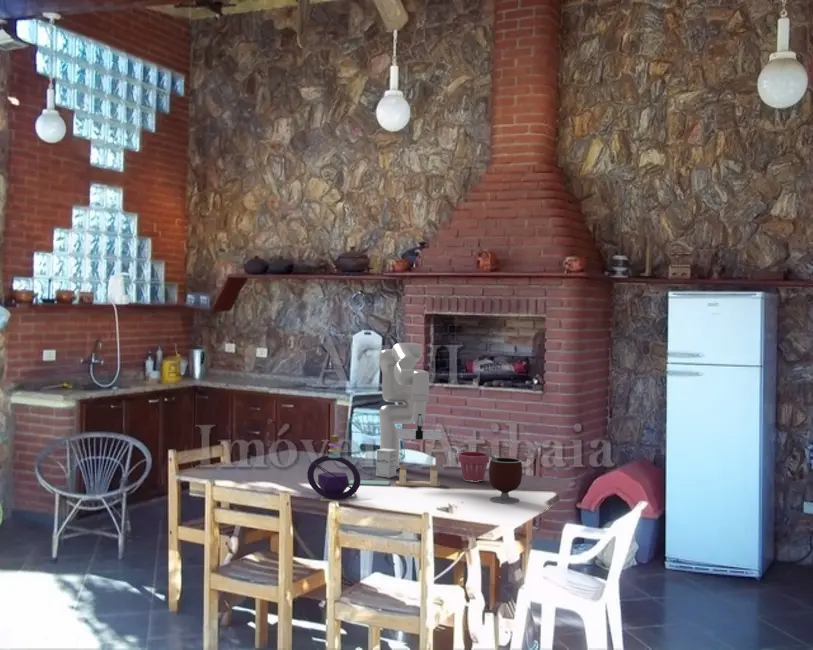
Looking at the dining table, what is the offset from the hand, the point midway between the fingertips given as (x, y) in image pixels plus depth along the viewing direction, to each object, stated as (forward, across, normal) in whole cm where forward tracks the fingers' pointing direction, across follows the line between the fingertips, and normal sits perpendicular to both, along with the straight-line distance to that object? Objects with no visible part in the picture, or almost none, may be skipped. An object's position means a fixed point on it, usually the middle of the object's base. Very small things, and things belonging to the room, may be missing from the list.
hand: (419, 438), depth 398 cm
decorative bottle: (+21, +29, -36) cm, 51 cm away
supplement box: (+21, -20, -15) cm, 33 cm away
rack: (+21, 0, 0) cm, 21 cm away
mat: (+21, +1, -22) cm, 30 cm away
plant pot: (+21, -13, +26) cm, 36 cm away
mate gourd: (+21, +31, +35) cm, 52 cm away
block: (0, 0, 0) cm, 0 cm away
